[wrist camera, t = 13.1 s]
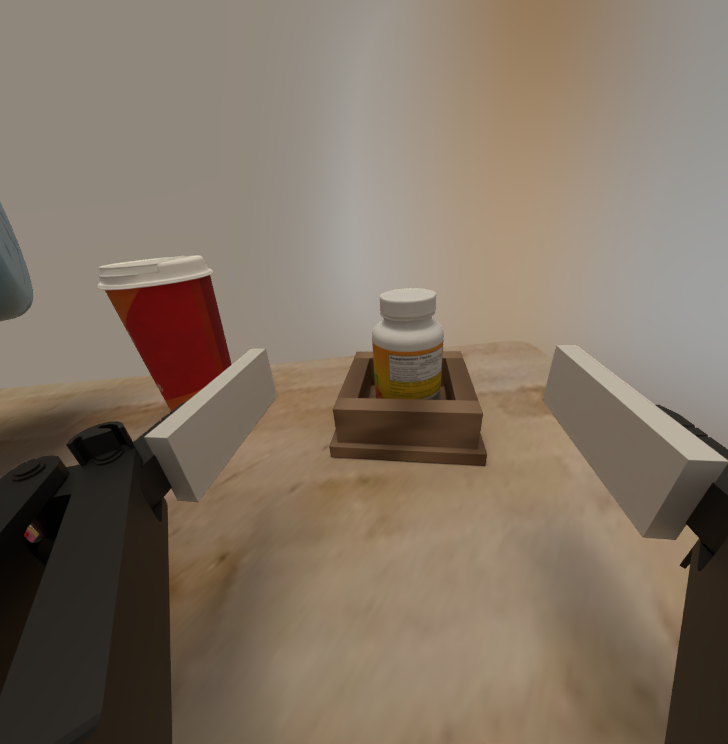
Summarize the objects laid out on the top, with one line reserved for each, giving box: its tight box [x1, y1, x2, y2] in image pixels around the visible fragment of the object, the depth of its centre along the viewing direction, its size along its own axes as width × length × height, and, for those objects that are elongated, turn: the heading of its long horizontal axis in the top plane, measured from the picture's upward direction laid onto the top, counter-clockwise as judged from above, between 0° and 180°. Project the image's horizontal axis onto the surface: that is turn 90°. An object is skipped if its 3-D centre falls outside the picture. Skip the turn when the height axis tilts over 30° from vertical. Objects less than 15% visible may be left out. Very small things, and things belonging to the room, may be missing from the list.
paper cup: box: [98, 256, 231, 411], centre depth 25 cm, size 8×8×14 cm
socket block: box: [330, 351, 487, 466], centre depth 25 cm, size 11×11×4 cm
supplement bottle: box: [372, 288, 444, 400], centre depth 23 cm, size 5×5×10 cm
